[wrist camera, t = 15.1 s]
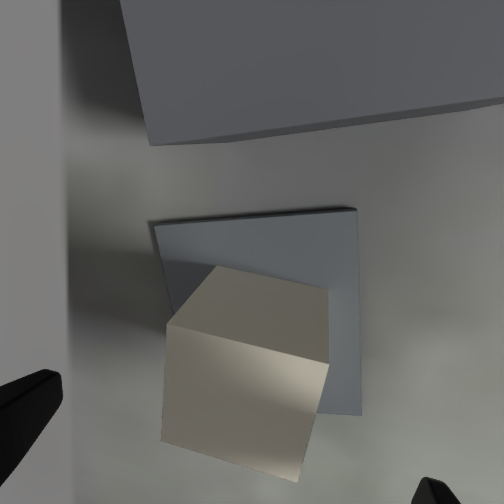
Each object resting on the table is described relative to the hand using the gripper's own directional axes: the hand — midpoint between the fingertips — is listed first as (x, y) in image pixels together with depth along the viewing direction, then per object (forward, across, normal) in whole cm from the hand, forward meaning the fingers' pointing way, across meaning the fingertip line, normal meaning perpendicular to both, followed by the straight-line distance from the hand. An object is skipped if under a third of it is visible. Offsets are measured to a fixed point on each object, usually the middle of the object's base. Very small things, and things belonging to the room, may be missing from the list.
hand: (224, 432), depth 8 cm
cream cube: (+5, 0, 0) cm, 5 cm away
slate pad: (+5, 0, 0) cm, 5 cm away
